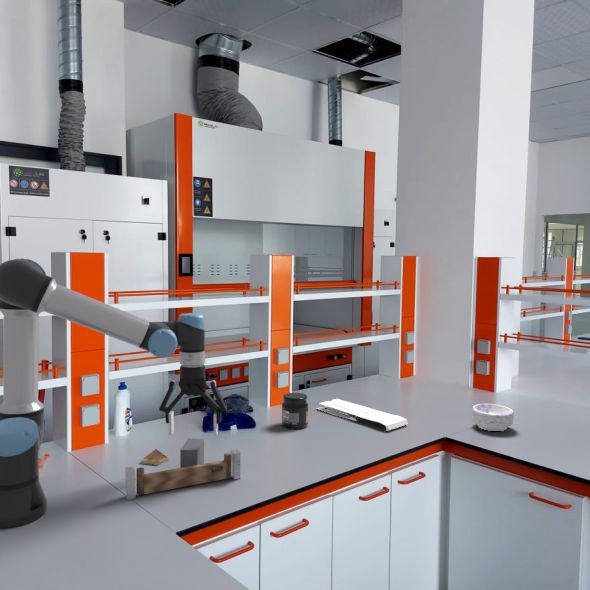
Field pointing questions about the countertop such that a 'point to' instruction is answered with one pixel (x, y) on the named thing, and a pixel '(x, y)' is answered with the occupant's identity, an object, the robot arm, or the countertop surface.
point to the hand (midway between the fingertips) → (193, 433)
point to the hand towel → (362, 413)
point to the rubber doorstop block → (192, 453)
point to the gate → (183, 476)
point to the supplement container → (295, 410)
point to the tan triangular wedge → (154, 458)
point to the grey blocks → (131, 474)
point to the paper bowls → (492, 416)
